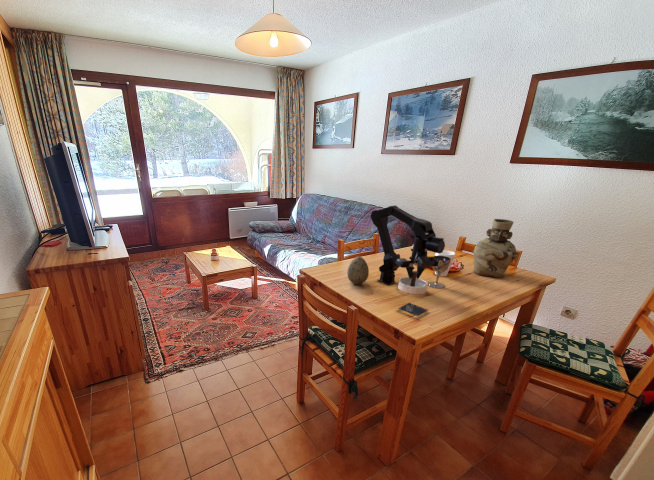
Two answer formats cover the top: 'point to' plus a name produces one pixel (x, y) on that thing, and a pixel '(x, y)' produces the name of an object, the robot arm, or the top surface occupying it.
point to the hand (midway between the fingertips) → (413, 278)
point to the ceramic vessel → (495, 250)
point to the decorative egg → (358, 271)
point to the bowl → (418, 289)
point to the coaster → (413, 309)
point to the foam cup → (447, 254)
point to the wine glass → (440, 269)
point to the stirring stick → (413, 278)
